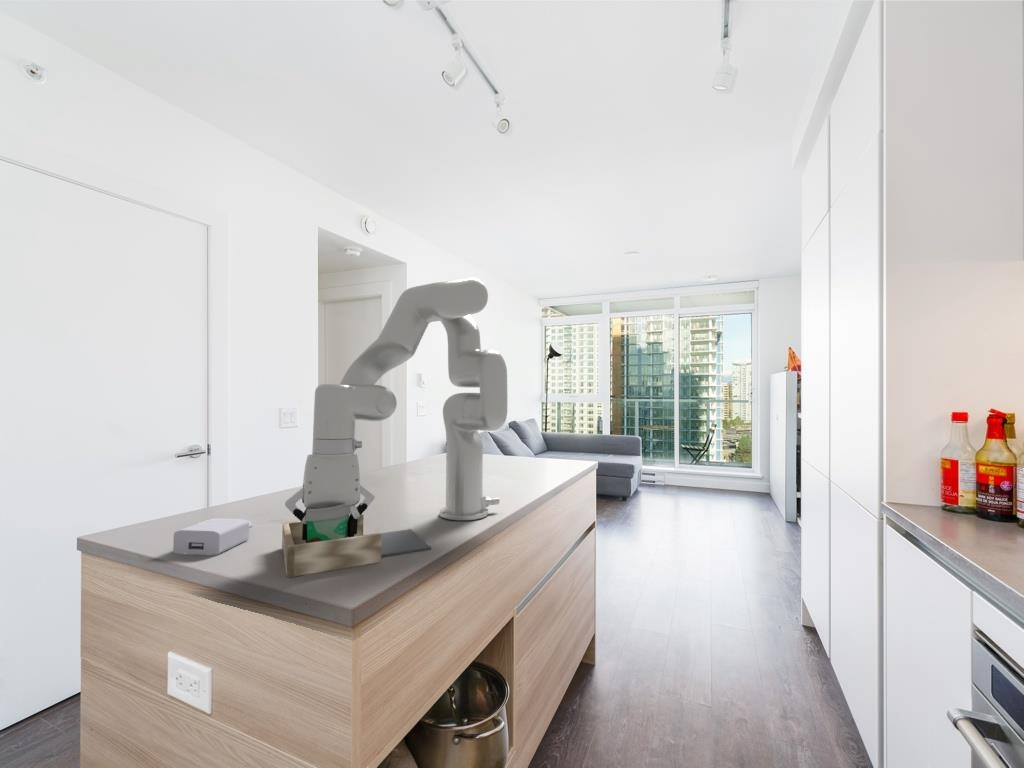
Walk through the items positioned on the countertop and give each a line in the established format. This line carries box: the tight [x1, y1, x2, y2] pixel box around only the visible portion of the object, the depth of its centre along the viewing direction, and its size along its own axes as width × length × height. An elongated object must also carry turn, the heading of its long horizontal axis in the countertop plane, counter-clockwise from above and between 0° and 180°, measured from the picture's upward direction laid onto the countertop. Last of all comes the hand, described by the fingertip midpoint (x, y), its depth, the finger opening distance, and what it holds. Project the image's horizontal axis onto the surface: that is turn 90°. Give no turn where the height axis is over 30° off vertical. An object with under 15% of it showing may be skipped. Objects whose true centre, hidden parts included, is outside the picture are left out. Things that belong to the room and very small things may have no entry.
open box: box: [281, 513, 382, 578], centre depth 87 cm, size 16×17×5 cm
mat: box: [380, 528, 432, 558], centre depth 94 cm, size 10×14×1 cm
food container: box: [305, 504, 351, 543], centre depth 87 cm, size 12×6×10 cm, turn 1°
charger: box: [172, 517, 254, 556], centre depth 94 cm, size 5×9×15 cm
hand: (329, 540), depth 87 cm, fingers closed on food container, 7 cm apart
